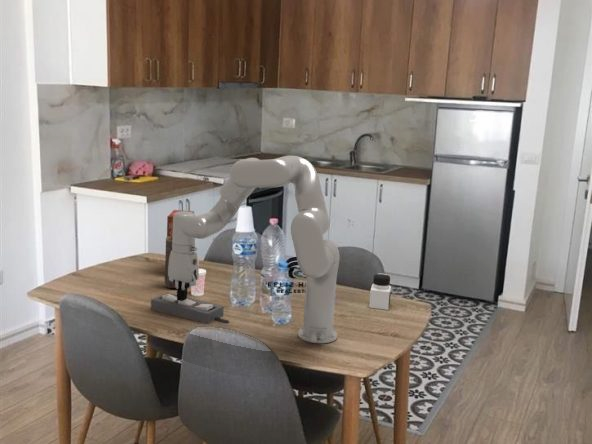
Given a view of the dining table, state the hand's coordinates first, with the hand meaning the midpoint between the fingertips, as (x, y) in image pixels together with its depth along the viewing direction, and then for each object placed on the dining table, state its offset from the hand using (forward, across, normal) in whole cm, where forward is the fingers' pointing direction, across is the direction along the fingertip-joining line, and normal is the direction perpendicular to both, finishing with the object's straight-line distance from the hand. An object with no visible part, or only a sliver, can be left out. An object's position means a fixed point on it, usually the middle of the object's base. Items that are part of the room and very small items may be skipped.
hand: (181, 299), depth 222 cm
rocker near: (+1, -9, 0) cm, 9 cm away
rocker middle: (+1, -2, 0) cm, 2 cm away
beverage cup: (+5, +6, -18) cm, 20 cm away
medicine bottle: (+3, -55, -47) cm, 72 cm away
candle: (+5, +18, -19) cm, 27 cm away
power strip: (+4, -5, 0) cm, 6 cm away
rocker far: (+1, +5, 0) cm, 5 cm away
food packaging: (+5, +28, -35) cm, 45 cm away
